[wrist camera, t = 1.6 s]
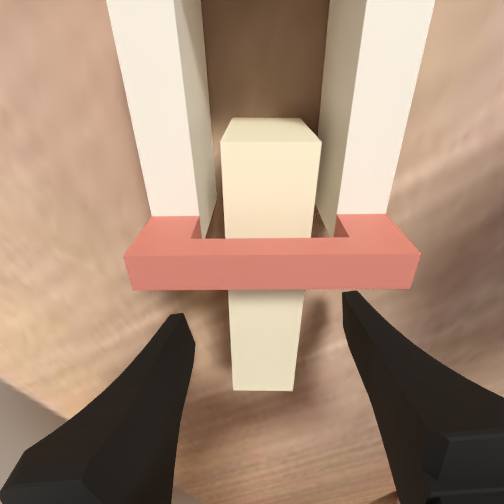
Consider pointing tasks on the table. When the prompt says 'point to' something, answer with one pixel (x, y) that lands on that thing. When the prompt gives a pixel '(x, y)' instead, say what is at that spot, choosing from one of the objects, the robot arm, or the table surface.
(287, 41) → the table surface
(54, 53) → the table surface
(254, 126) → the cream square stick
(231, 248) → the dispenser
